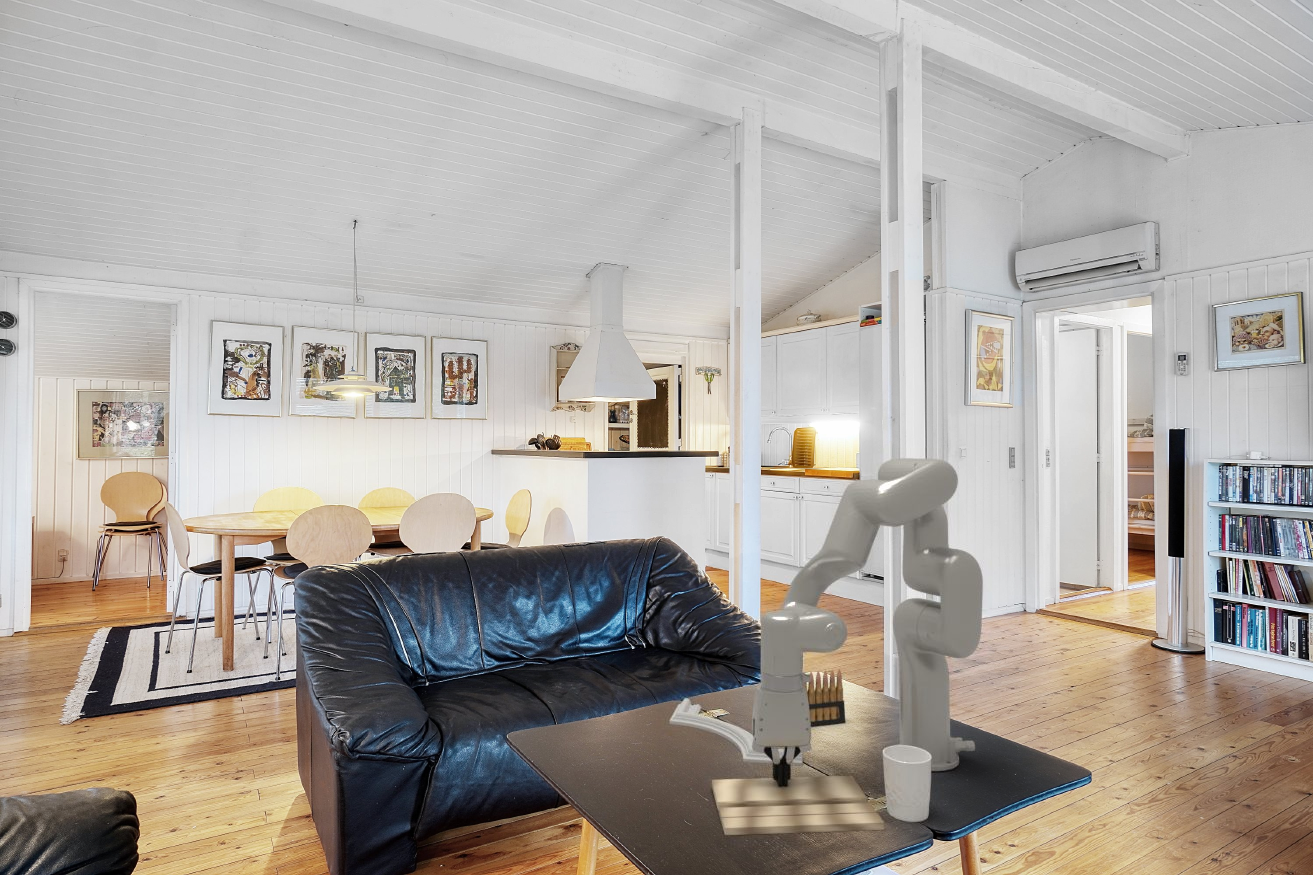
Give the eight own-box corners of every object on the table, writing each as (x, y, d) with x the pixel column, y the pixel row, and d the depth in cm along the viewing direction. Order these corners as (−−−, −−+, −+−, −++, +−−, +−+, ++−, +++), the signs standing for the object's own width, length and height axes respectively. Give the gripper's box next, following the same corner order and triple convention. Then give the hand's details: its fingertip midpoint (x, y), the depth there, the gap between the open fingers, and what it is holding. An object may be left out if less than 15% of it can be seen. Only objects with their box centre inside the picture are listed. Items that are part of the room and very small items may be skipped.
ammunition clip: (841, 720, 176) (840, 667, 176) (845, 723, 174) (844, 669, 174) (798, 725, 173) (798, 671, 173) (802, 728, 171) (801, 673, 171)
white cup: (878, 802, 134) (877, 744, 135) (923, 802, 134) (922, 744, 134) (890, 824, 127) (889, 762, 127) (939, 824, 126) (938, 763, 127)
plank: (851, 781, 142) (851, 774, 142) (867, 806, 133) (867, 798, 133) (711, 786, 140) (711, 779, 140) (718, 811, 131) (718, 803, 131)
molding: (816, 765, 152) (816, 750, 152) (770, 779, 146) (770, 763, 146) (691, 706, 188) (691, 694, 188) (649, 715, 181) (649, 703, 181)
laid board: (870, 809, 132) (869, 802, 132) (884, 829, 125) (884, 821, 125) (719, 814, 130) (718, 807, 130) (724, 835, 123) (724, 827, 123)
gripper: (817, 674, 143) (817, 774, 143) (737, 675, 143) (737, 775, 142) (828, 686, 136) (828, 791, 135) (744, 687, 135) (743, 793, 135)
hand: (781, 783), depth 139 cm, fingers closed
